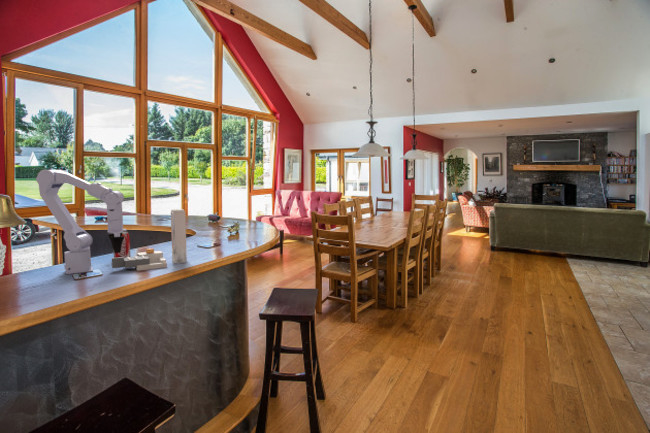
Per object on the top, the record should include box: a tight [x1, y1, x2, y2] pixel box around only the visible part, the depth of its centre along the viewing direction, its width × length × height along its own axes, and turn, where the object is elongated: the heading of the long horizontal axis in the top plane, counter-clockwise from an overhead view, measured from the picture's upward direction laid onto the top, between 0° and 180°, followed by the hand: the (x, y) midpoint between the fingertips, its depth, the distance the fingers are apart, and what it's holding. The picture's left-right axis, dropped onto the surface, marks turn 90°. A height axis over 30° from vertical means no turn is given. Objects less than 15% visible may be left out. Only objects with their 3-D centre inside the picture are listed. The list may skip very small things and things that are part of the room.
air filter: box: [170, 208, 188, 265], centre depth 178 cm, size 6×6×25 cm
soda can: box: [112, 231, 131, 258], centre depth 183 cm, size 7×7×13 cm
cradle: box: [134, 250, 168, 272], centre depth 172 cm, size 12×14×5 cm
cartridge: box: [111, 255, 150, 269], centre depth 166 cm, size 14×6×4 cm, turn 124°
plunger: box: [145, 248, 155, 254], centre depth 176 cm, size 3×3×5 cm
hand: (116, 251), depth 163 cm, fingers open, 7 cm apart
